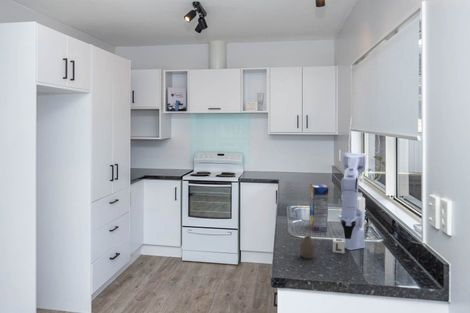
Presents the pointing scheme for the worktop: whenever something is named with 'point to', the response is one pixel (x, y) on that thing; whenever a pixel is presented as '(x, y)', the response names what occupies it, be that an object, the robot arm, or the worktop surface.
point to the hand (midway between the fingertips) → (347, 238)
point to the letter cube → (338, 245)
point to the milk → (361, 205)
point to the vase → (307, 248)
